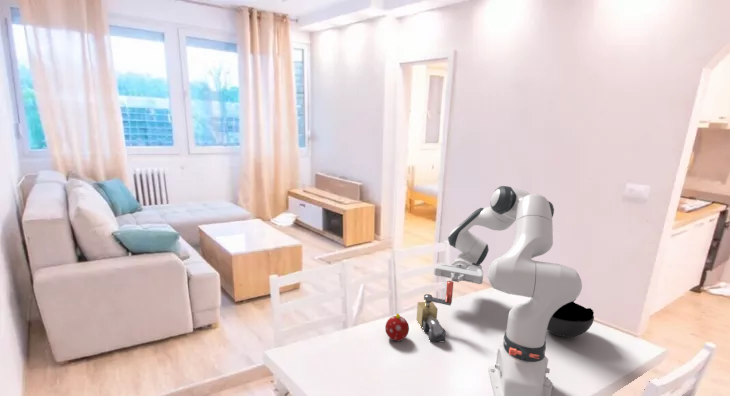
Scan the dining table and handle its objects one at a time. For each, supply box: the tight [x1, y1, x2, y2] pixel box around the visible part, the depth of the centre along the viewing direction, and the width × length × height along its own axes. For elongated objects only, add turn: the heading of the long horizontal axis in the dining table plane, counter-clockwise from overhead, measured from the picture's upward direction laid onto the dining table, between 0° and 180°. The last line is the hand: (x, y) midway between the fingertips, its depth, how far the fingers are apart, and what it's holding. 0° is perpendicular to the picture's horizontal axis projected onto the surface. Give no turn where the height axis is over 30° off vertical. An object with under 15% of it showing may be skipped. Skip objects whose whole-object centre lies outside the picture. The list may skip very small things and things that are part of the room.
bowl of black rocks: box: [547, 298, 595, 338], centre depth 146 cm, size 20×20×19 cm
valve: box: [416, 301, 447, 343], centre depth 144 cm, size 16×6×10 cm, turn 11°
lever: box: [423, 280, 455, 307], centre depth 146 cm, size 11×3×10 cm, turn 66°
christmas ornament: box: [384, 313, 410, 342], centre depth 138 cm, size 9×9×10 cm
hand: (455, 279), depth 154 cm, fingers closed
